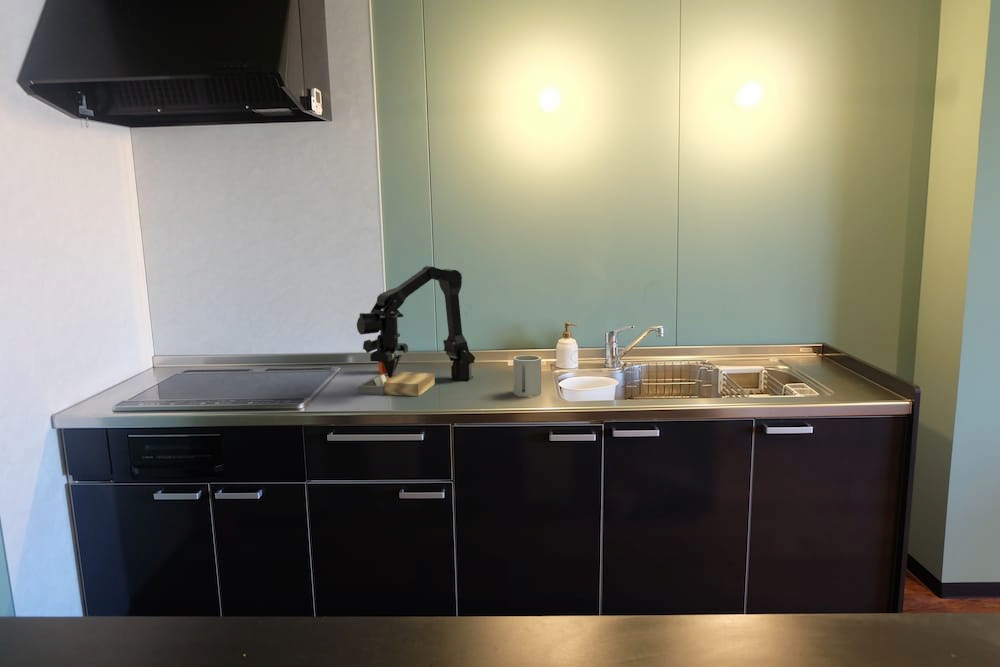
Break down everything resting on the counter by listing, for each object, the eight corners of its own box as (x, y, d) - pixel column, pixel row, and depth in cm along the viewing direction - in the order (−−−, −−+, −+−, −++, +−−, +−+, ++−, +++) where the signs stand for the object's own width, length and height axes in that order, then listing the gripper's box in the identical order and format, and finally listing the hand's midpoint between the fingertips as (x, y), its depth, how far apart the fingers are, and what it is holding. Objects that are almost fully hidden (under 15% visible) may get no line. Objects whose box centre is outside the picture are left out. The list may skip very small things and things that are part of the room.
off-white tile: (383, 374, 233) (379, 376, 233) (378, 377, 228) (373, 379, 229) (389, 386, 233) (384, 388, 233) (384, 389, 228) (379, 391, 229)
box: (403, 381, 244) (403, 375, 243) (383, 394, 226) (382, 387, 226) (380, 380, 246) (379, 373, 245) (358, 393, 228) (357, 385, 228)
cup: (537, 389, 232) (537, 354, 230) (543, 396, 223) (543, 360, 221) (511, 390, 231) (510, 355, 228) (516, 397, 222) (516, 361, 220)
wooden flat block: (434, 384, 240) (434, 373, 239) (418, 396, 224) (418, 384, 224) (402, 382, 243) (402, 371, 242) (384, 394, 227) (383, 382, 227)
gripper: (377, 326, 238) (379, 370, 240) (354, 335, 220) (356, 382, 222) (408, 327, 235) (409, 371, 238) (386, 336, 217) (388, 384, 220)
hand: (390, 377), depth 229 cm, fingers closed
